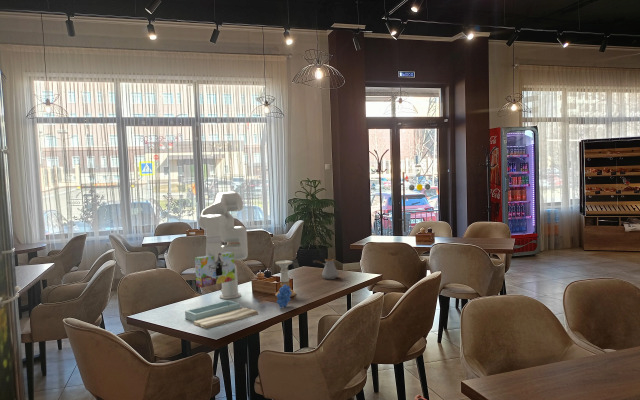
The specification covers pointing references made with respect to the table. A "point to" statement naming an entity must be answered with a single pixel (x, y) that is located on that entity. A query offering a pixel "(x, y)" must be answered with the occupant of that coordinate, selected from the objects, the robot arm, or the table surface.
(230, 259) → the snack box
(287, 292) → the grapes
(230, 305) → the bin
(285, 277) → the candle holder
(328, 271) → the coffee pot
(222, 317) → the board
